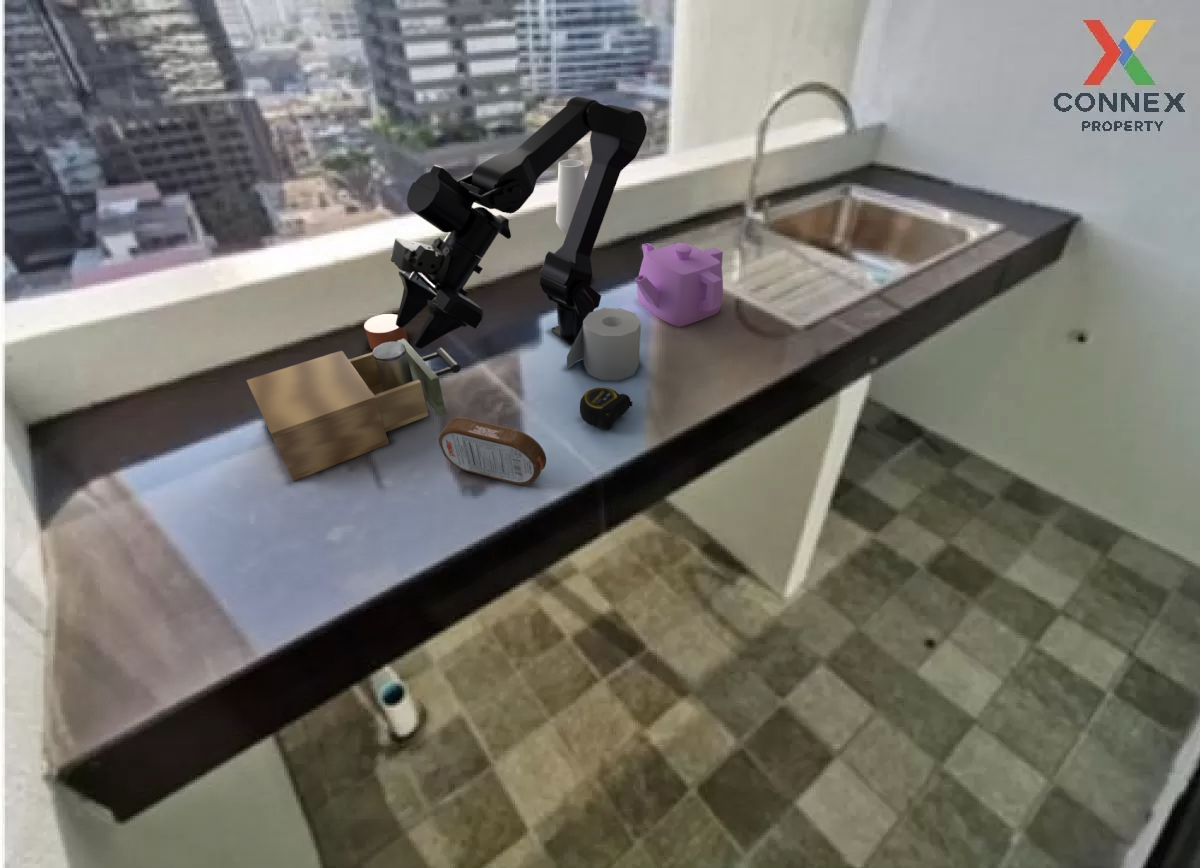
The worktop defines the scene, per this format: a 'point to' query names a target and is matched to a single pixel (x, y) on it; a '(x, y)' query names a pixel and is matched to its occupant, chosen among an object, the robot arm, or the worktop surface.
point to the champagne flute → (568, 191)
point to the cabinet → (319, 413)
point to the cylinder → (392, 365)
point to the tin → (492, 451)
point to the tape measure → (603, 407)
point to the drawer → (407, 387)
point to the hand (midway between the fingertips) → (407, 336)
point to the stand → (383, 330)
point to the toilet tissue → (608, 344)
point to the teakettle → (680, 283)
